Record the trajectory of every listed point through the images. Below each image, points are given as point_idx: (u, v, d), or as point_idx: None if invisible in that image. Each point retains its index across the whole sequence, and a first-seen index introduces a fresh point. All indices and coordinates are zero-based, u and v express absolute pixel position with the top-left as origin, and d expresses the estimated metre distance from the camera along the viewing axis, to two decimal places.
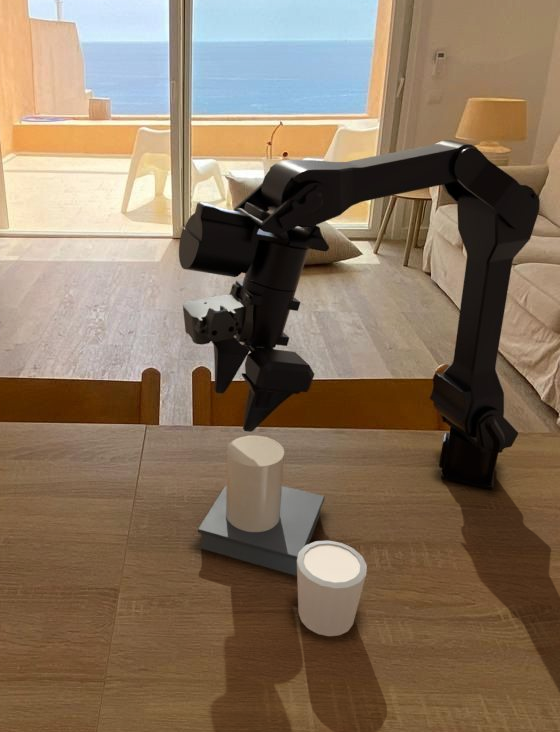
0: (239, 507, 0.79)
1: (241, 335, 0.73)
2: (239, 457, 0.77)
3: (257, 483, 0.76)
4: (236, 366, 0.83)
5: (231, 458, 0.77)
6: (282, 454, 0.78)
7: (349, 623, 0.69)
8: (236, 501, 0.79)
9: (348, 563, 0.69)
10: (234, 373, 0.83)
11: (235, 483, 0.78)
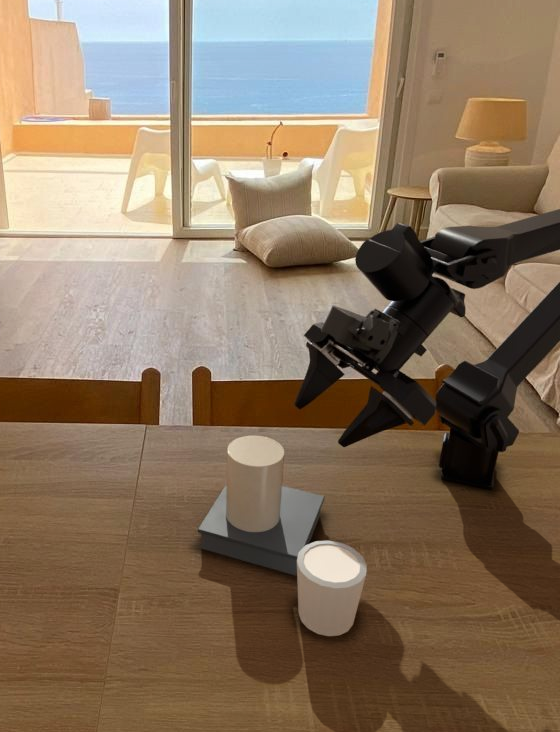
0: (239, 507, 0.79)
1: (378, 354, 0.76)
2: (239, 457, 0.77)
3: (257, 483, 0.76)
4: (321, 389, 0.85)
5: (231, 458, 0.77)
6: (282, 454, 0.78)
7: (349, 623, 0.69)
8: (236, 501, 0.79)
9: (348, 563, 0.69)
10: (317, 395, 0.85)
11: (235, 483, 0.78)
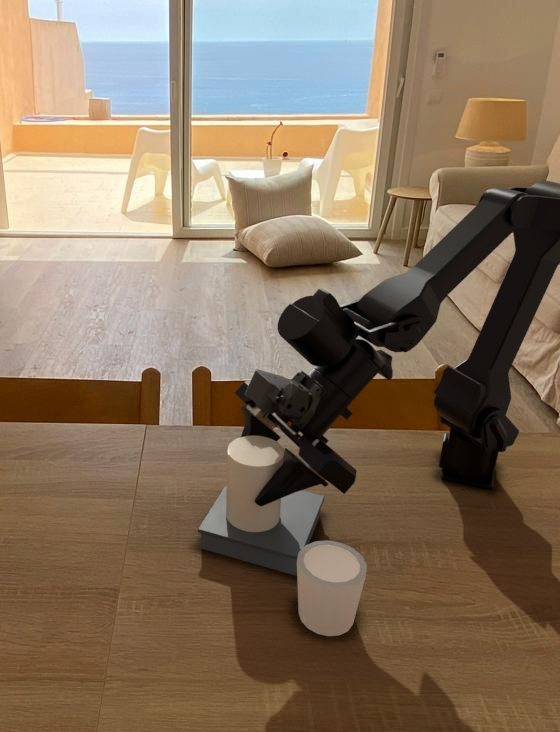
0: (239, 507, 0.79)
1: (300, 419, 0.75)
2: (239, 457, 0.77)
3: (257, 483, 0.76)
4: None
5: (231, 458, 0.77)
6: (282, 454, 0.78)
7: (349, 623, 0.69)
8: (236, 501, 0.79)
9: (348, 563, 0.69)
10: None
11: (235, 483, 0.78)
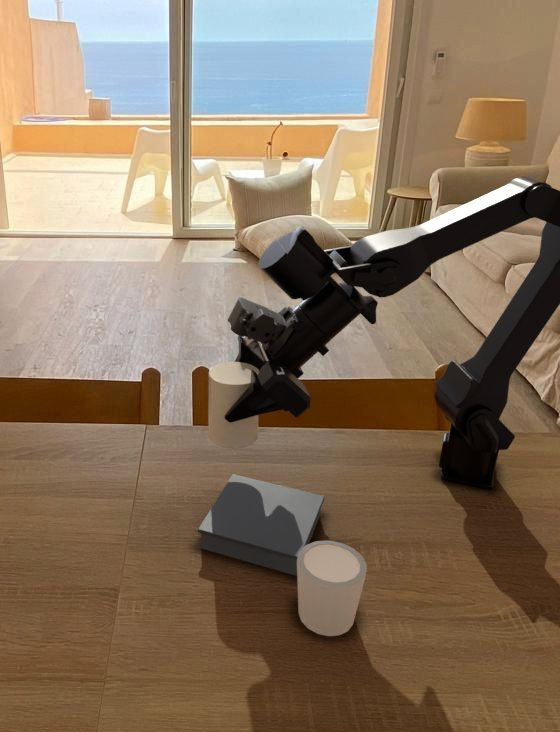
0: (214, 422, 0.87)
1: (270, 346, 0.82)
2: (216, 375, 0.85)
3: (227, 400, 0.84)
4: None
5: (209, 375, 0.85)
6: None
7: (349, 623, 0.69)
8: (212, 416, 0.87)
9: (348, 563, 0.69)
10: None
11: (211, 399, 0.86)
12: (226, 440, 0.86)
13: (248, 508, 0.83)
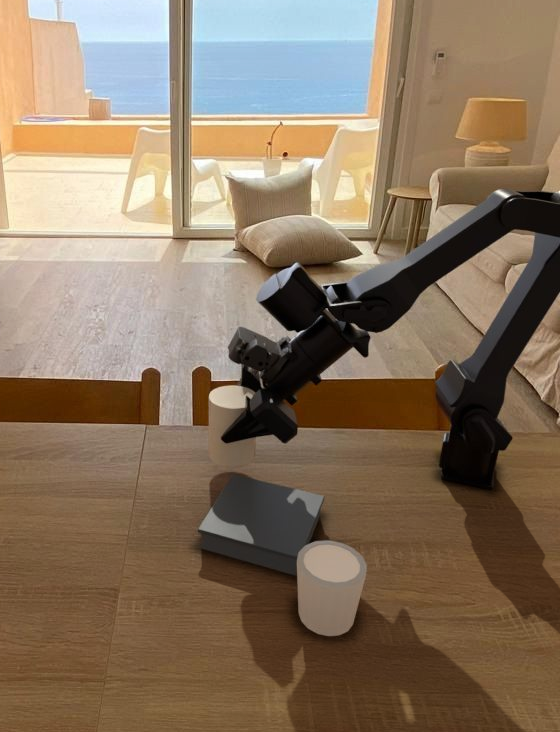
0: (212, 441, 0.92)
1: (264, 374, 0.86)
2: (215, 398, 0.91)
3: (224, 422, 0.89)
4: None
5: None
6: None
7: (349, 623, 0.69)
8: (210, 436, 0.92)
9: (348, 563, 0.69)
10: None
11: (210, 420, 0.92)
12: (223, 459, 0.92)
13: (248, 508, 0.83)
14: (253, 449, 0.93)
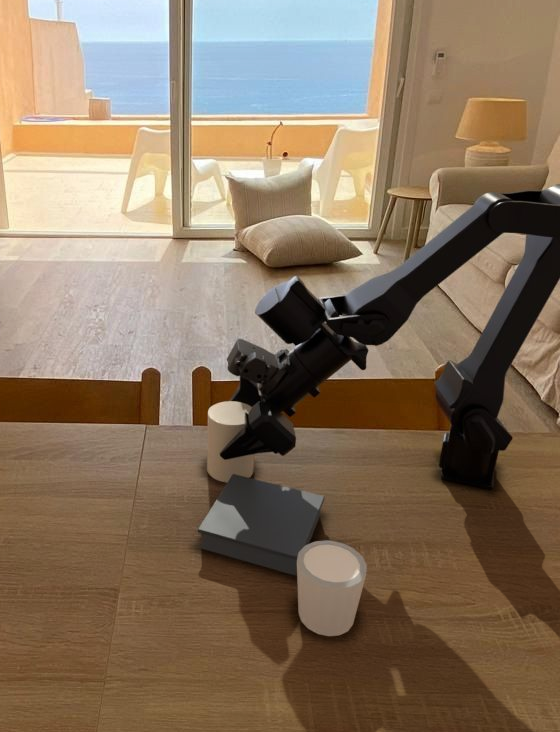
0: (211, 457, 0.93)
1: (263, 386, 0.87)
2: (214, 414, 0.92)
3: (222, 438, 0.90)
4: None
5: None
6: None
7: (349, 623, 0.69)
8: (209, 452, 0.93)
9: (348, 563, 0.69)
10: None
11: (208, 436, 0.93)
12: (221, 474, 0.93)
13: (248, 508, 0.83)
14: (251, 464, 0.94)
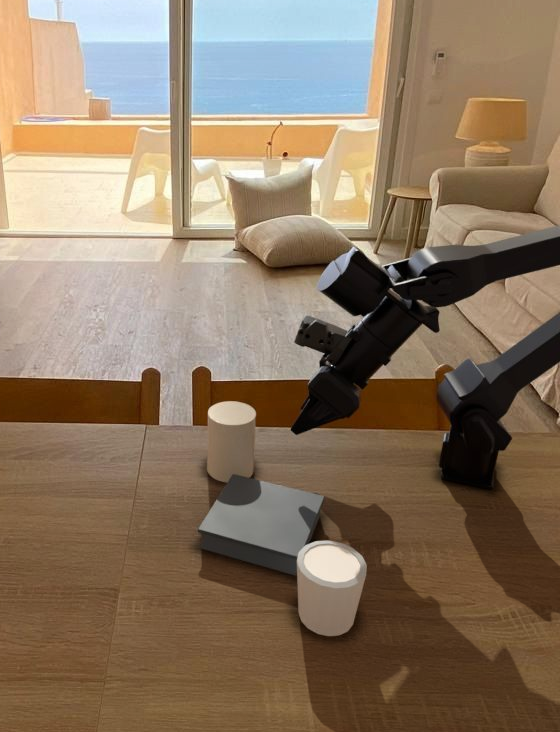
0: (211, 457, 0.93)
1: (329, 355, 0.87)
2: (214, 414, 0.92)
3: (222, 438, 0.90)
4: None
5: None
6: (250, 420, 0.90)
7: (349, 623, 0.69)
8: (209, 452, 0.93)
9: (348, 563, 0.69)
10: None
11: (208, 436, 0.93)
12: (221, 474, 0.93)
13: (248, 508, 0.83)
14: (251, 464, 0.94)
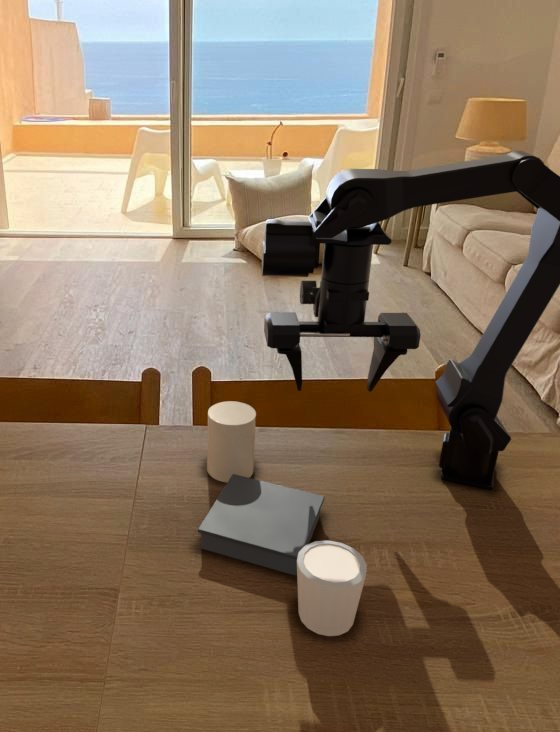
0: (211, 457, 0.93)
1: (314, 308, 0.90)
2: (214, 414, 0.92)
3: (222, 438, 0.90)
4: (375, 369, 0.89)
5: None
6: (250, 420, 0.90)
7: (349, 623, 0.69)
8: (209, 452, 0.93)
9: (348, 563, 0.69)
10: (373, 375, 0.89)
11: (208, 436, 0.93)
12: (221, 474, 0.93)
13: (248, 508, 0.83)
14: (251, 464, 0.94)
